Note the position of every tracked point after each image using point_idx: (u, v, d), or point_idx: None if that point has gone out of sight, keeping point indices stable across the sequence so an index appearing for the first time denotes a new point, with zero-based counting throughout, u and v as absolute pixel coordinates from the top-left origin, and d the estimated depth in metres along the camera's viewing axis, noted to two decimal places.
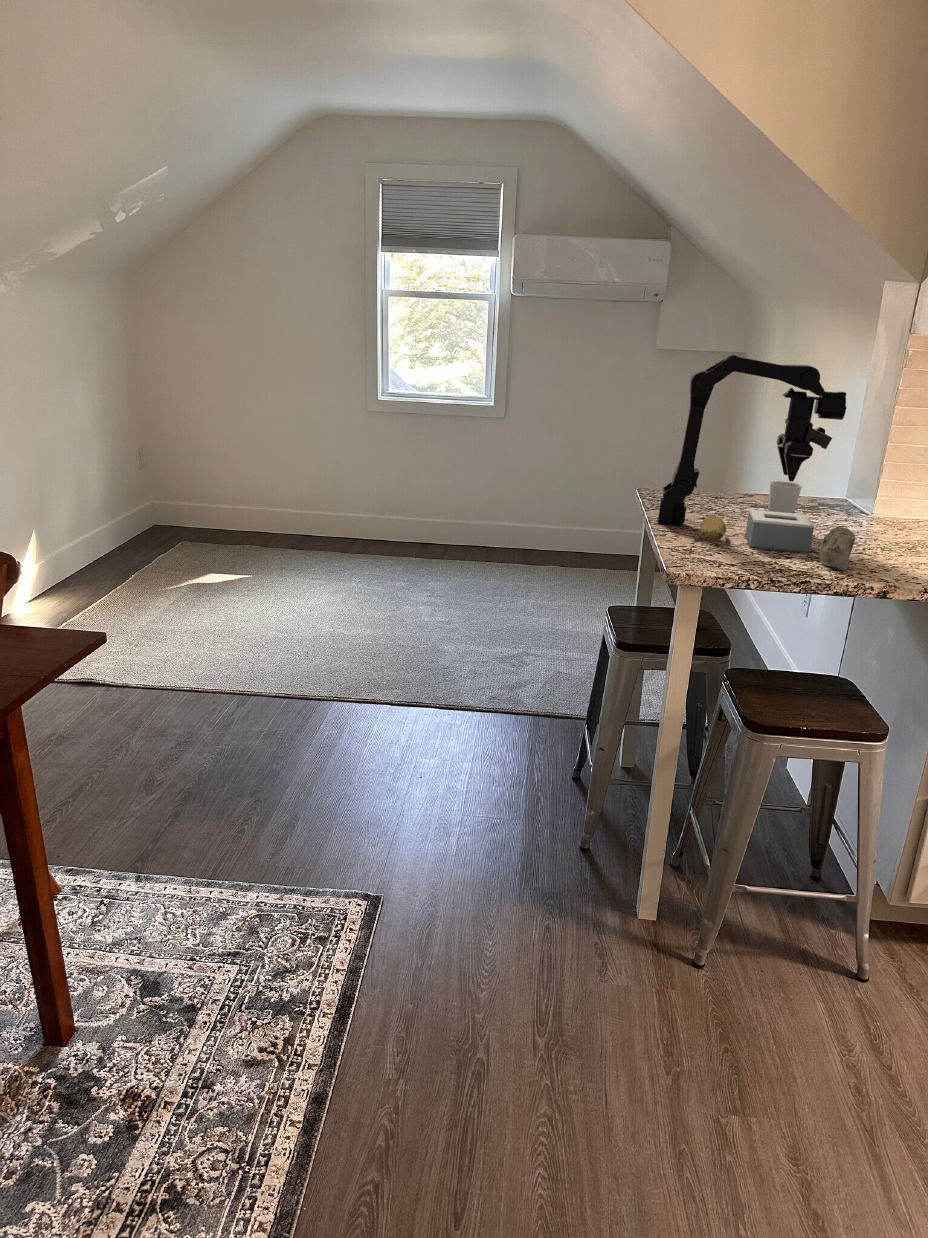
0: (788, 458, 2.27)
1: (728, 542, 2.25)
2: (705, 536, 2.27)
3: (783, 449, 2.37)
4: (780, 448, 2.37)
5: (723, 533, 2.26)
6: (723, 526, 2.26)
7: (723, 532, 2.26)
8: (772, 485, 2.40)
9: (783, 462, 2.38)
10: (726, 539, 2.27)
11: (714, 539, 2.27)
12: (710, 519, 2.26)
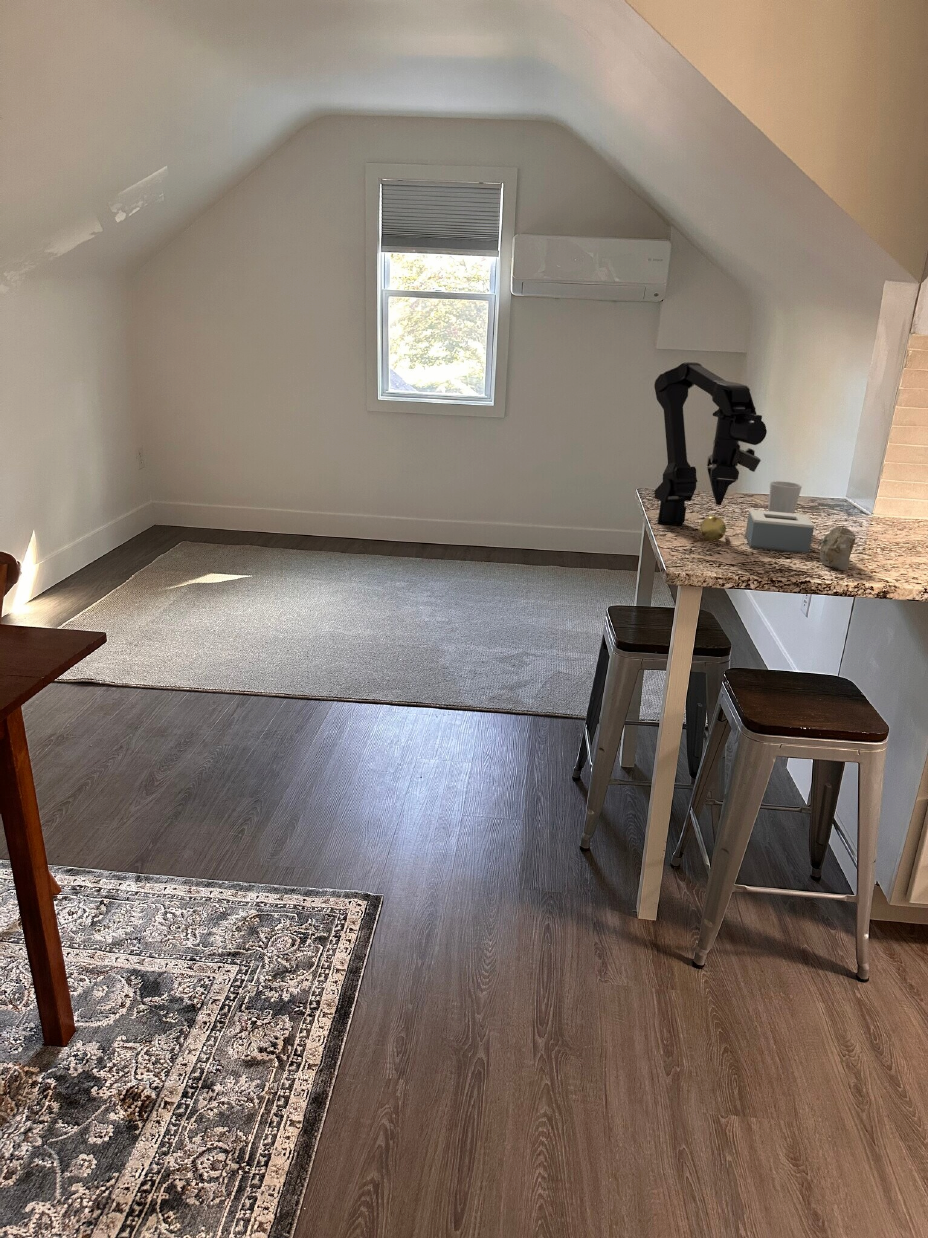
0: (714, 481, 2.17)
1: (728, 542, 2.25)
2: (705, 536, 2.27)
3: None
4: (709, 470, 2.28)
5: (723, 533, 2.26)
6: (723, 526, 2.26)
7: (723, 532, 2.26)
8: (772, 485, 2.40)
9: None
10: (726, 539, 2.27)
11: (714, 539, 2.27)
12: (710, 519, 2.26)
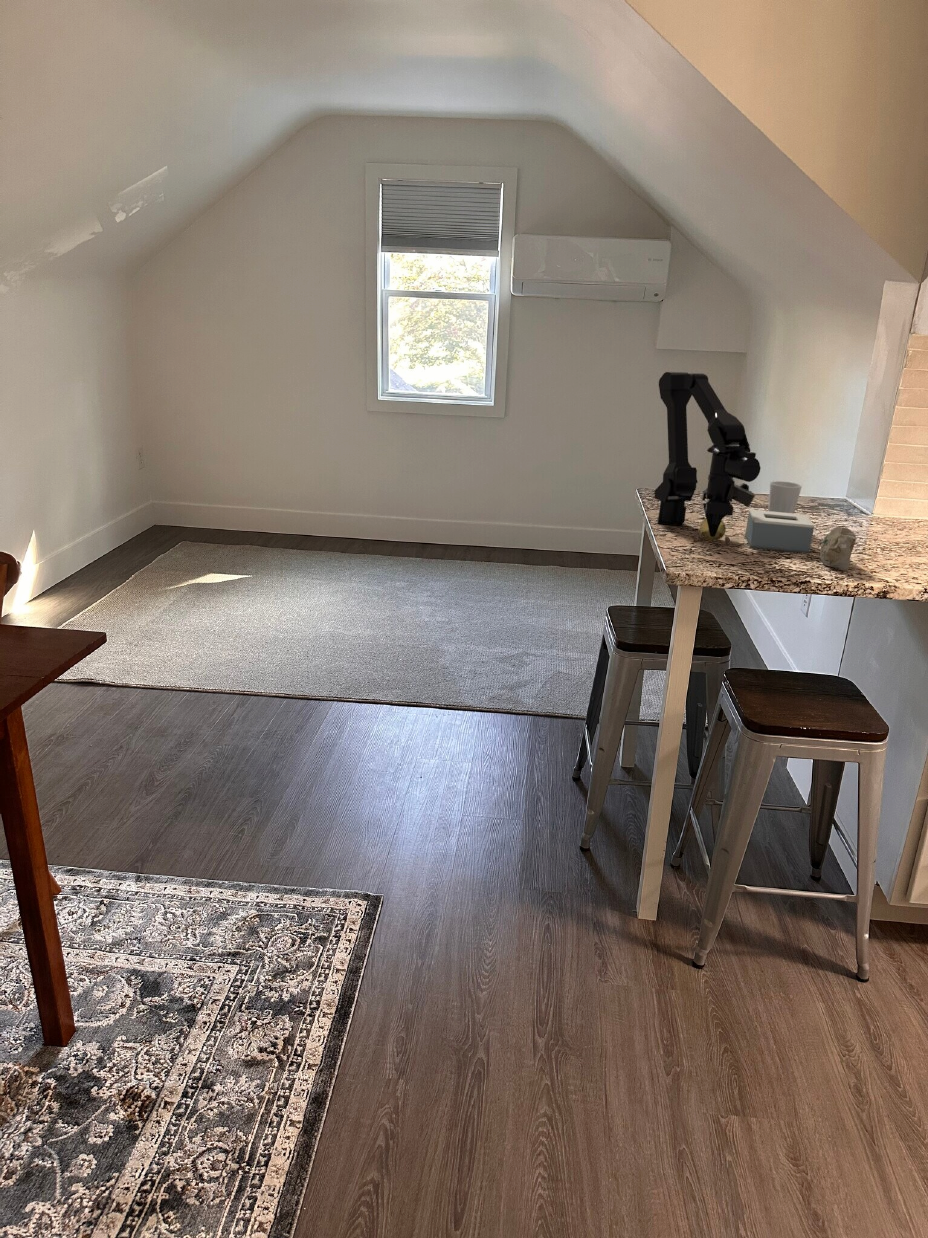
0: (708, 514, 2.23)
1: (728, 542, 2.25)
2: (705, 536, 2.27)
3: None
4: (705, 506, 2.28)
5: (723, 533, 2.26)
6: (722, 525, 2.26)
7: (723, 532, 2.26)
8: (772, 485, 2.40)
9: None
10: (726, 539, 2.27)
11: (714, 539, 2.27)
12: None
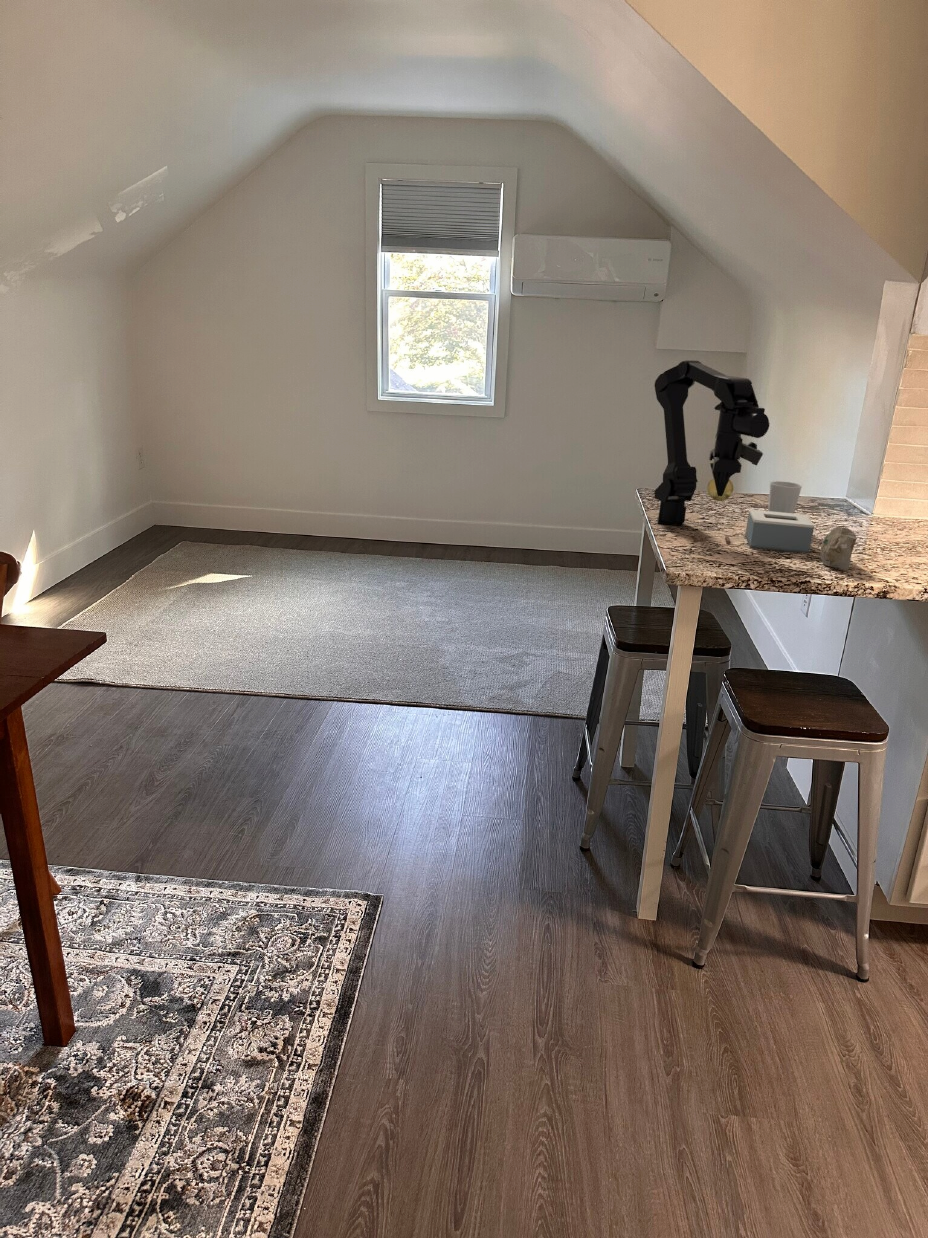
0: (715, 472, 2.20)
1: (728, 542, 2.25)
2: (712, 496, 2.24)
3: None
4: (712, 466, 2.24)
5: (730, 492, 2.23)
6: (730, 485, 2.22)
7: (730, 491, 2.23)
8: (772, 485, 2.40)
9: None
10: (726, 539, 2.27)
11: (721, 499, 2.24)
12: None
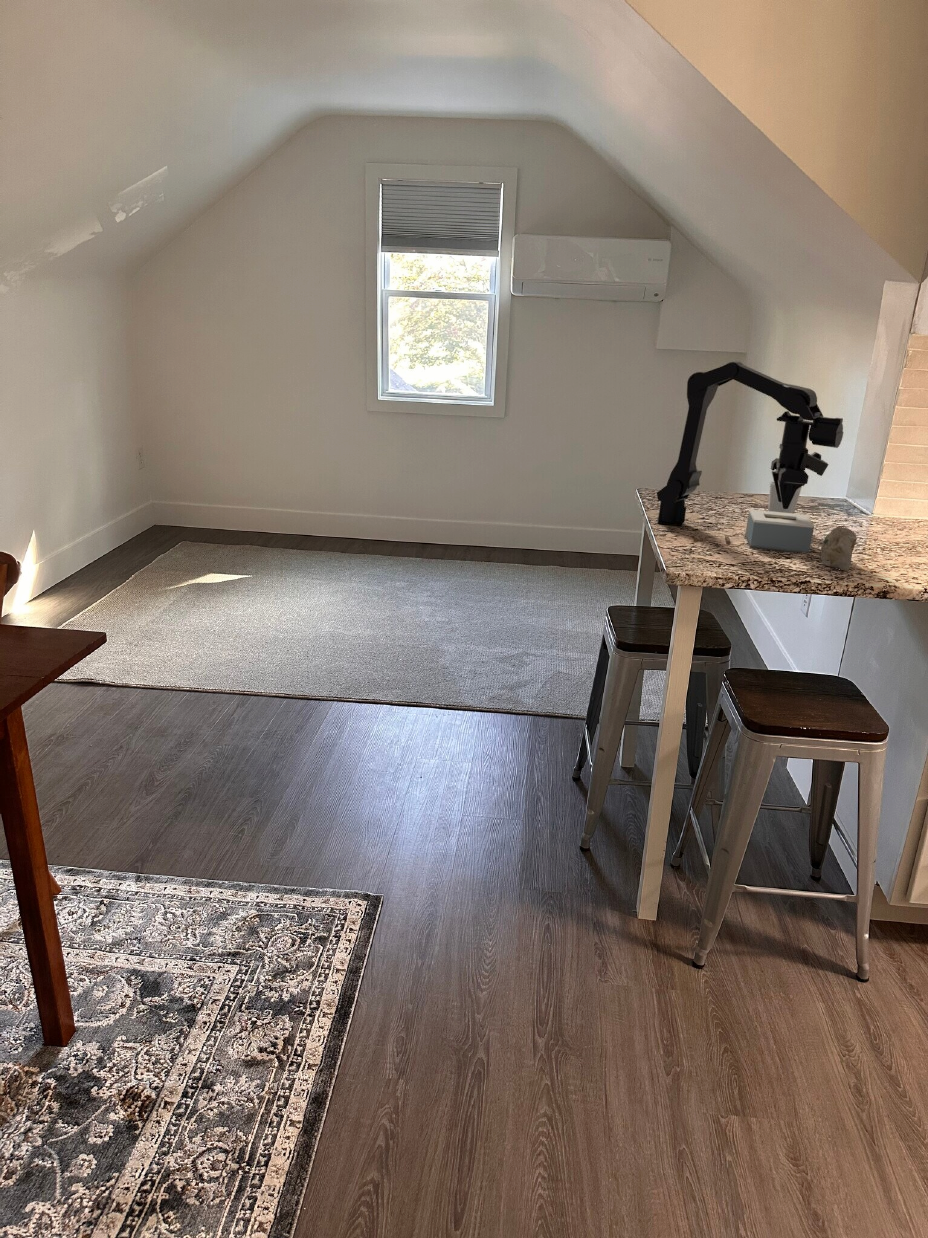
0: (782, 485, 2.17)
1: (728, 542, 2.25)
2: None
3: (778, 475, 2.27)
4: (774, 474, 2.27)
5: None
6: None
7: None
8: (772, 485, 2.40)
9: (778, 489, 2.27)
10: (726, 539, 2.27)
11: None
12: None
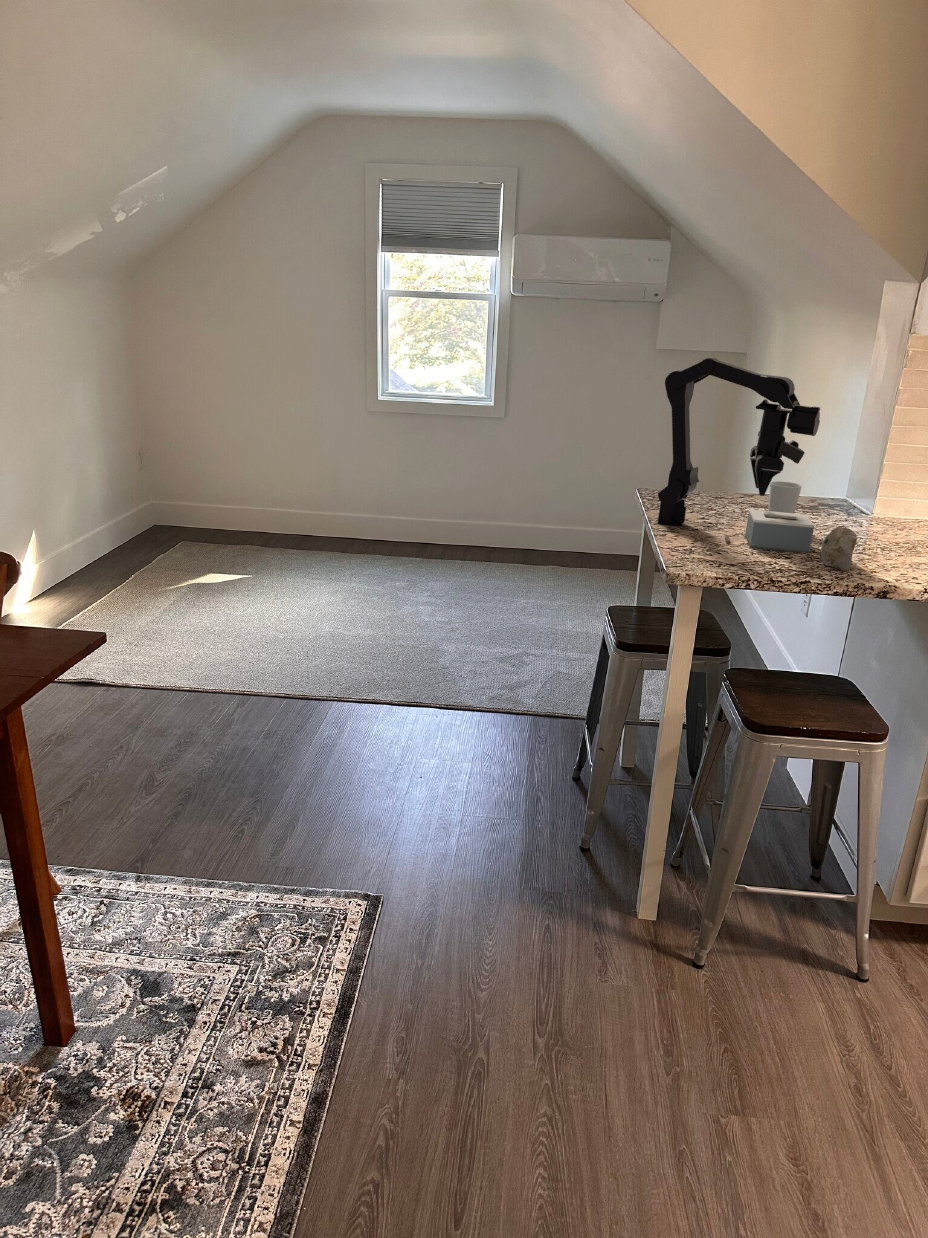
0: (759, 472, 2.21)
1: (728, 542, 2.25)
2: None
3: (756, 462, 2.32)
4: (753, 461, 2.32)
5: None
6: None
7: None
8: (772, 485, 2.40)
9: (755, 475, 2.33)
10: (726, 539, 2.27)
11: None
12: None
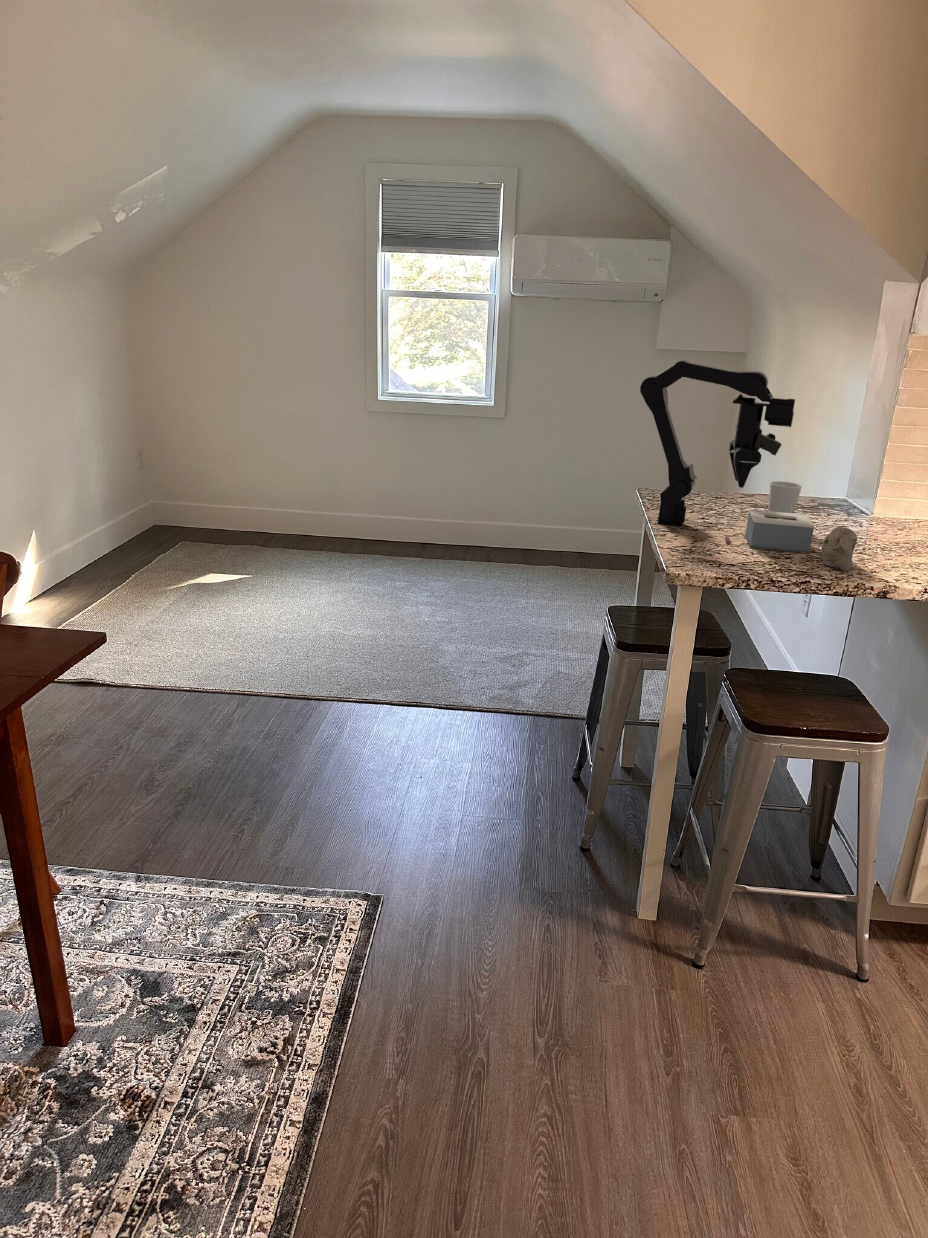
0: (737, 464, 2.27)
1: (728, 542, 2.25)
2: None
3: (734, 455, 2.37)
4: (731, 454, 2.37)
5: None
6: None
7: None
8: (772, 485, 2.40)
9: (734, 468, 2.38)
10: (726, 539, 2.27)
11: None
12: None
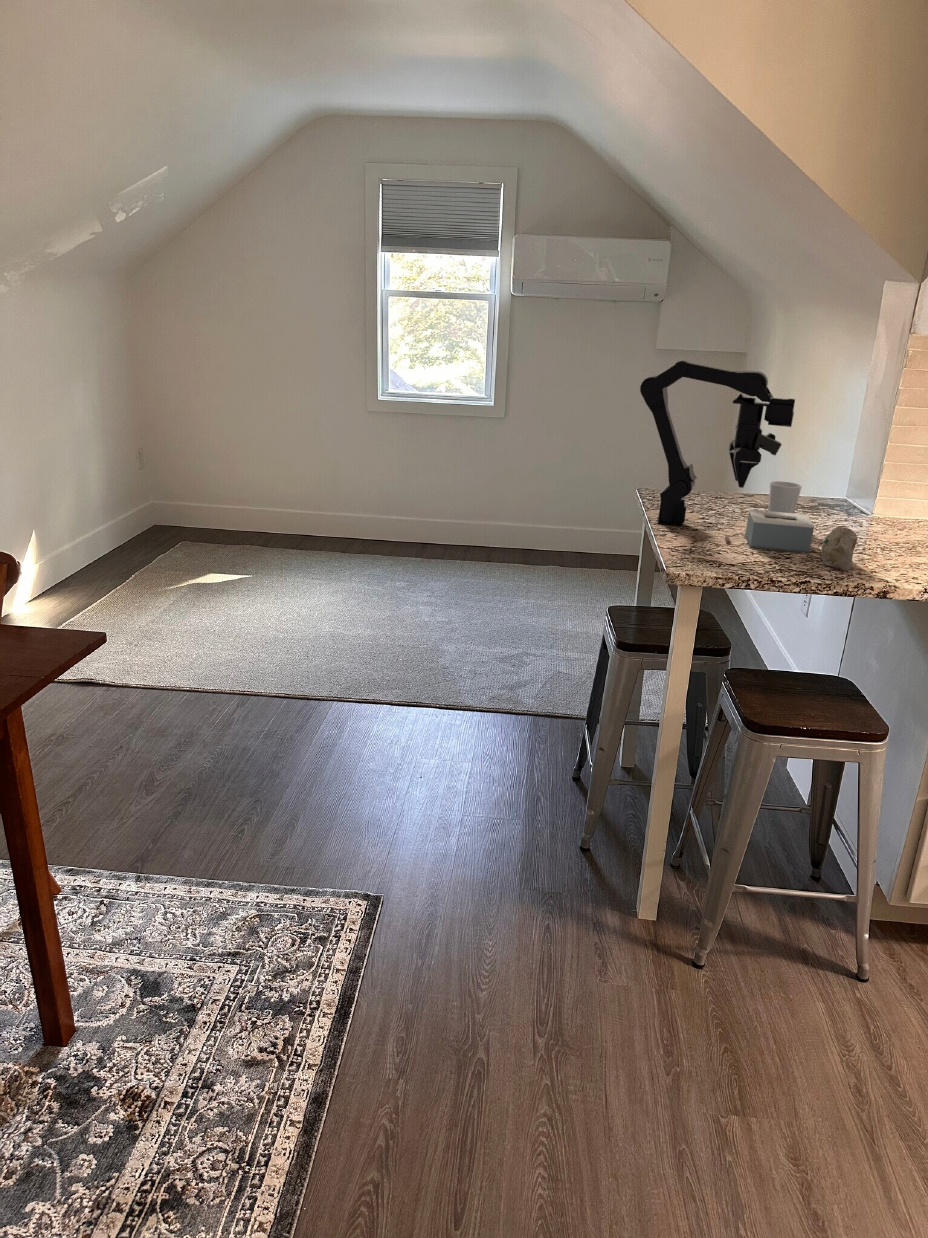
0: (737, 464, 2.27)
1: (728, 542, 2.25)
2: None
3: (734, 455, 2.37)
4: (731, 454, 2.37)
5: None
6: None
7: None
8: (772, 485, 2.40)
9: (734, 468, 2.38)
10: (726, 539, 2.27)
11: None
12: None
